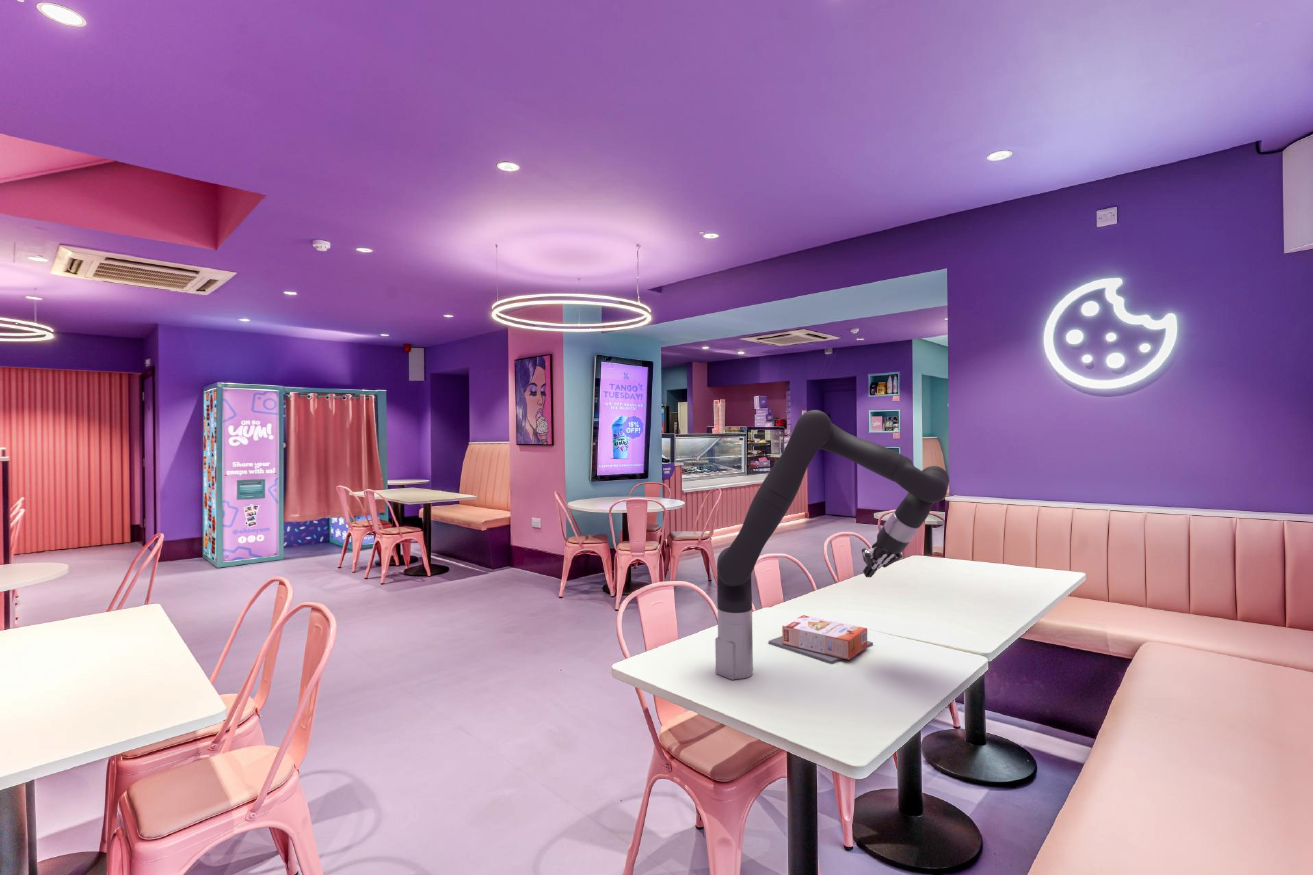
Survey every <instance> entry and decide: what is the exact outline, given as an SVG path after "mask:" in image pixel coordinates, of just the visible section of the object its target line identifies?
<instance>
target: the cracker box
mask: <svg viewBox="0 0 1313 875" xmlns="http://www.w3.org/2000/svg"><path fill="white" fill-rule="evenodd" d="M781 630H782V631H781V632H782V633H781V634H782V635H781V636H782V643H783V644H786V645H790V646H794V647H798V648H802V649H807V650H811V651H815V652H819V653H823V654H827V655H831V656H836V657H840V658H844V660H851V659H852V658H853V657H855V656H857V655H858V654H859V653H860V652H862V651H864V650H866V649H867V648H866V647H867V641H868V628H867V627H863V626H858V625H852V624H848V623H844V622H838V621H833V620H828V619H824V618H819V617H818V618H817V617H813V616H809V615H801V616H799V617H797V618H795V619H793V620H791V621H789V622H787V623H785V624H783V625H782V628H781ZM865 648H866V649H865Z"/></svg>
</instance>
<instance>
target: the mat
mask: <svg viewBox="0 0 1313 875" xmlns="http://www.w3.org/2000/svg"><path fill="white" fill-rule="evenodd" d="M767 643H768V644H769V645H772V646H774V647H779V648H782V649H784V650H788V651H791V652H793V653H796V654H800V655H802V656H805V657H809V658H812V659H815V660H818V661H821V662H824V663H828V664H831V665H833V664H835V663H837V662H839V661H842V660H843V659H844V658H840V657H836V656H831V655H827V654H823V653H819V652H815V651H811V650H807V649H802V648H798V647H794V646H790V645H786V644H783V643H782V635H781V636H777V637H776V638H772V639H770V640H768V642H767ZM871 645H872V646H874V642H873V641H869V640H867V647H868V648H870V647H872V646H871ZM867 647H866V648H865V649H864V650H866V649H868V648H867ZM844 660H845V659H844Z"/></svg>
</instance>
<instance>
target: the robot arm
mask: <svg viewBox="0 0 1313 875" xmlns="http://www.w3.org/2000/svg"><path fill="white" fill-rule="evenodd" d="M819 450H822V451H823V450H824V451H826V452H830V453H833V454H835V455H838V456H840V457H843V458H845V459H847V460H849V461H851V462H854V463H855V464H857V465H859V466H862V467H863V468H865V469H867V470H869V471H871V472H873V473H875V474H876V475H878V476H881V477H883V478H885V479H887V480H889V481H892V482H894V483H896V484H897V485H898V486H900V487H901V488H902V489H903V490H905V491H907V492H908V493H907V494H906V496H904V498H903V499H902V500H901V502H900V503H899V505H898V506H897V508H896V509H895V510H894V512H892V514H891V515H890V516H889V517H888V518H887V520H886V521H885V523H884V524H883V525H882V527H881V528H880V530H879V531H878V532H877V535H876V542H875V543H873V544H872V545H871V548H869V549H866V548H865V547H864V548H862V549H861V553H862V554H861V555H862V558H863V559H862V560H863V562H864V563H865V564H866V566H865V567H864V569H863V571H862V573H863V575H864V576H865V578H873V577H874V575H875V574H876V572H877V571H878V570H880V569H881V568H882V567H883V568H884V569H885V568H887V567H889V566H890V565H892V564H894V563H895V562H897V561H899V560H901V559H902V558H903V555H902V553H903V552H904V551H905V549H906V548H907V547H908V546H909V544H910V542H911V541H912V540H913V539H914V538H915V536H916V534H917V533H918V531H919V529H920V527H921V526H922V525H923V523H924V522H925V521H926V520H927V518H928V516H929V515H930V512H931V510H932V508H933V505H934V504H935V503H939V502H941V501H943V500H944V499H945V498H946V496H947V494H948V489H949V484H950V477H949V474H948V473H947V471H946V470H945V469H944V468H943V467H940V466H937V465H931V466H930V465H929V466H928V467H925V468H923V469H922V470H921V469H919V468H918V467H916V466H915V465H914V463H913V460H912V459H911V458H909V457H908V456H906V455H904V454H901V453H899V452H897V451H895V450H892V449H890V448H888V447H887V446H883V445H880V444H877V443H876V442H872V441H869V440H866V439H862V438H860V437H857V436H855V435H852V434H851V433H849V432H847V431H846V430H843V429H842V428H840V427H838V426H837V425H836V424H834V423H832V421H831V418H830V417H829V416H828V414H827V413H825V412H823V411H821V410H819V409H813V410H812V409H811V410H808V411H805V412H804V413H803V414H801V415H800V416H799V417H798V419H797V421H796V424H795V426H794V428H793V430H792V433H791V435H790V438H789V439H788V441H787V444H786V446H785V448H784V450H783V451H782V453H781V455H780V456H779V458H778V459H777V460H776V462H775V463H774V465H772V467H771V469H770V470H769V472H768V473H767V475H766V477H765V478H764V480H763V481H762V482H761V485H760V487H759V488H758V489H757V491H756V493H755V495H754V497H753V499H752V501H751V503H750V506H749V508H748V511H747V513H746V514H745V518H744V521H743V523H742V526H741V528H740V530H739V532H738V534H737V535H736V536H735V538H734V540H733V541H732V543H730V545H729V546H728V547H726V548H724V549H723V550H722V551H720V553H719V555H718V556H717V560H716V562H717V563H716V571H717V572H716V573H717V574H716V576H717V578H716V581H717V585H716V586H717V592H716V593H717V599H716V600H717V604H716V605H717V637H715V640H714V644H715V647H714V648H715V649H714V651H715V652H714V653H715V674H717V675H719V676H721V677H724V678H727V679H729V680H732V681H734V680H740V679H742V680H743V679H747V678H750V677H751V676H752V675H753V673H754V660H753V659H754V656H753V655H754V653H753V651H754V650H753V645H754V644H753V643H754V642H753V594H752V592H753V590H752V573H753V571H754V569H755V566H756V564H757V562H758V560H759V558H760V556H761V553H762V551H763V549H764V548H765V546H766V544H767V542H768V541H769V539H770V538H771V537H772V535H773V534H774V532H775V531H776V529H777V528H778V526H779V525H780V523H781V522H782V520H783V519H784V517H785V515H786V514H787V512H788V510H789V509H790V507H791V505H792V503H793V502H794V500H795V498H796V496H797V494H798V491H799V490H800V487H801V485H802V482H803V480H804V477H805V474H806V472H807V469H808V467H809V465H810V464H811V462H812V460H814V457H815V456H816V455H817V453H818V452H819Z"/></svg>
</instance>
